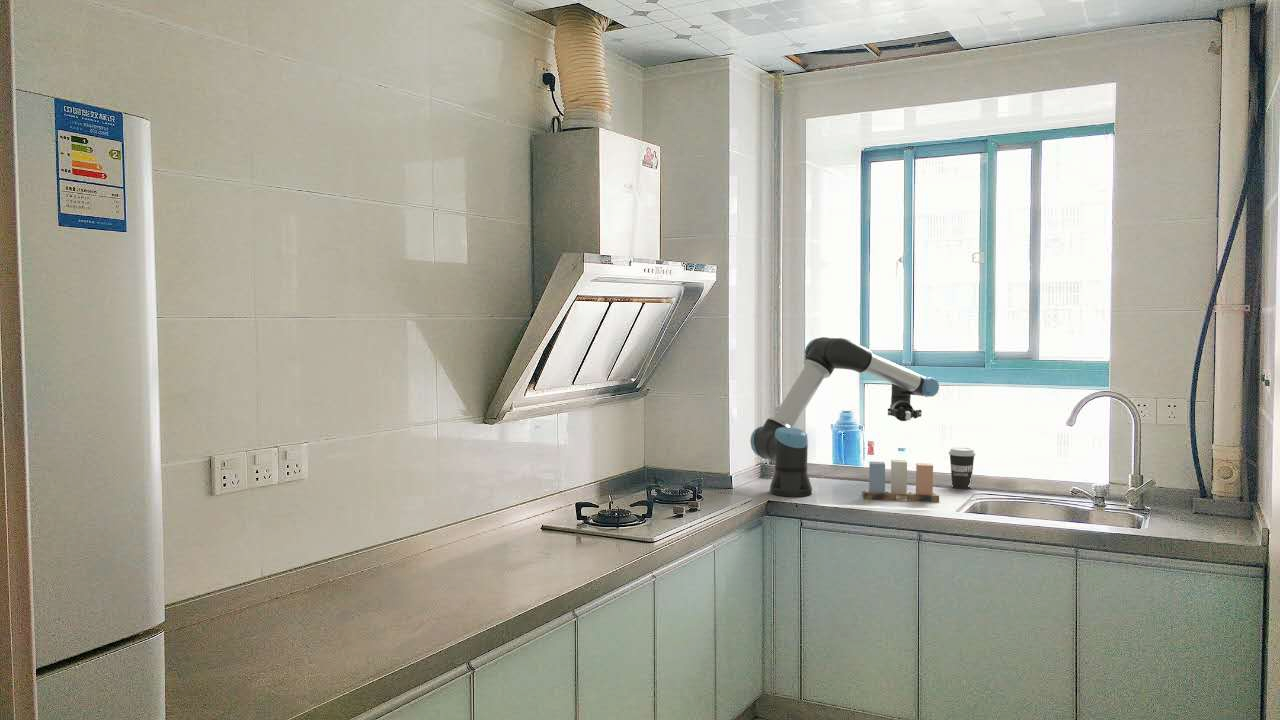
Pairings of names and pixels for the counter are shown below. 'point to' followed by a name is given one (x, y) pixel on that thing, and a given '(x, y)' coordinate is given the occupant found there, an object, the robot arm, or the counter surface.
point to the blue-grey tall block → (876, 477)
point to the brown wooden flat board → (900, 497)
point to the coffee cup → (961, 466)
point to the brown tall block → (924, 478)
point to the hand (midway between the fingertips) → (908, 416)
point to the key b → (899, 476)
